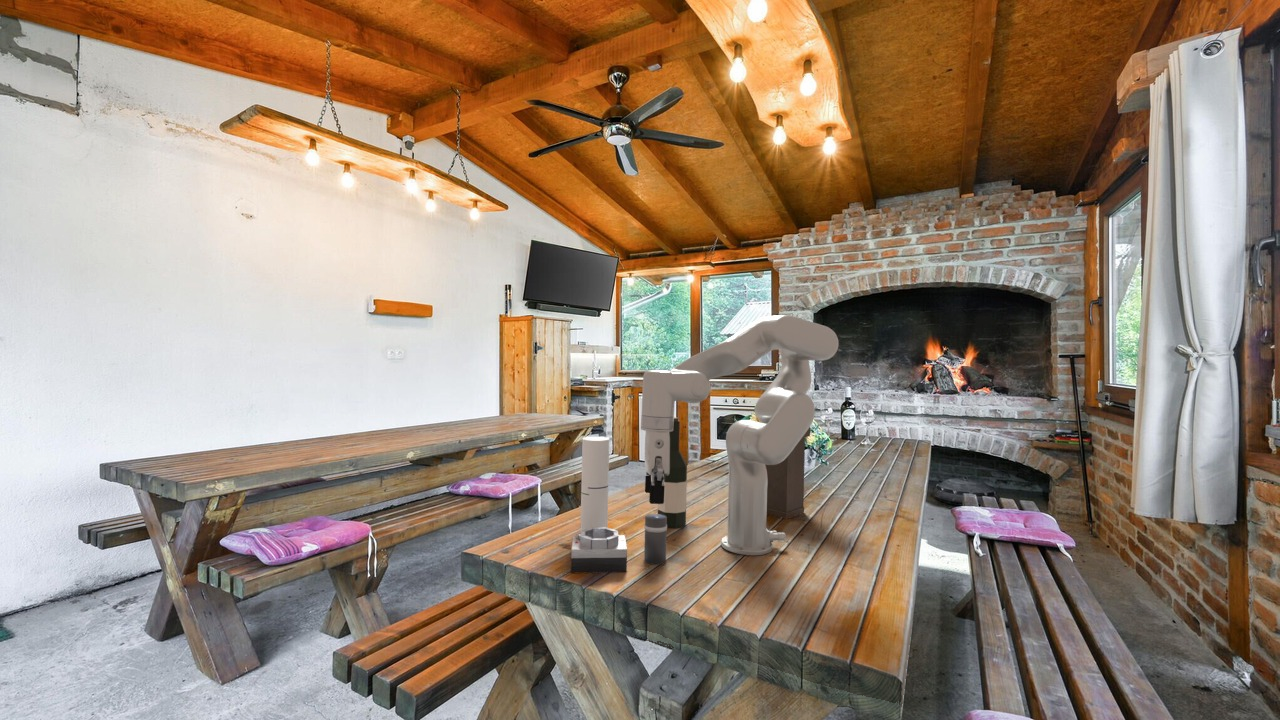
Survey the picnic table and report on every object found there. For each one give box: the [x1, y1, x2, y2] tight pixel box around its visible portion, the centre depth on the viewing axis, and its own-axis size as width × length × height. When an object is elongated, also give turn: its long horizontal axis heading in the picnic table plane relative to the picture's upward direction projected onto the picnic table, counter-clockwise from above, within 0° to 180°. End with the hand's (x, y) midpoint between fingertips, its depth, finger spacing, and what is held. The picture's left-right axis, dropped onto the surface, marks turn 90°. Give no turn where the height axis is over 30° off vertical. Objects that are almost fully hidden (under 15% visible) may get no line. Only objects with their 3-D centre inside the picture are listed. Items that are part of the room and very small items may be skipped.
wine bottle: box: [657, 416, 688, 529], centre depth 150 cm, size 8×8×30 cm
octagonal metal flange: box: [570, 527, 628, 573], centre depth 119 cm, size 12×9×7 cm
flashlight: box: [643, 513, 668, 566], centre depth 122 cm, size 5×5×10 cm
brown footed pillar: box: [765, 426, 811, 520], centre depth 168 cm, size 19×14×35 cm
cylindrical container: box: [580, 436, 610, 532], centre depth 141 cm, size 7×7×25 cm
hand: (653, 497), depth 122 cm, fingers open, 9 cm apart
